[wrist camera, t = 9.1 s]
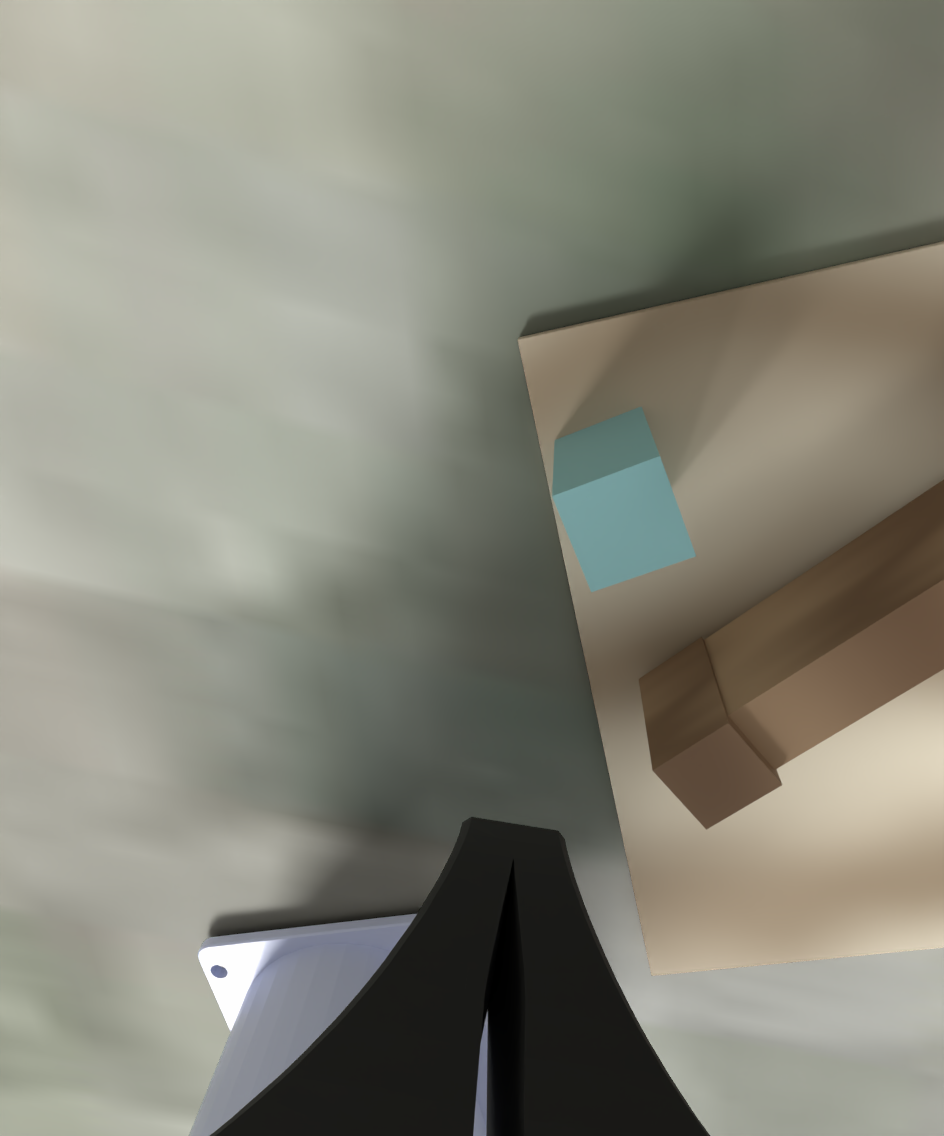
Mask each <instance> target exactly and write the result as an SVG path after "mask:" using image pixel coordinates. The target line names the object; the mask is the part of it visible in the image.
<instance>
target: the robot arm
mask: <svg viewBox="0 0 944 1136" xmlns="http://www.w3.org/2000/svg"><path fill="white" fill-rule="evenodd" d="M198 958H199V961H200V963H201V966H202V968H203V970H204V973H205V975H206V977H207V979H208V982H209V984H210V986H211V988H212V991H213V993H214V995H215V997H216V1000H217V1002H218V1004H219V1006H220V1009H221V1011H222V1013H223V1016H224V1018H225V1020H226V1022H227V1025H228V1027H229V1029H230V1031H231V1032H230V1035H229V1037H228V1040H227V1042H226V1045H225V1047H224V1050H223V1052H222V1055H221V1057H220V1059H219V1062H218V1064H217V1067H216V1069H215V1072H214V1074H213V1077H212V1079H211V1082H210V1084H209V1087H208V1089H207V1092H206V1094H205V1097H204V1099H203V1102H202V1104H201V1107H200V1109H199V1111H198V1114H197V1116H196V1119H195V1121H194V1124H193V1126H192V1129H191V1131H190V1134H189V1136H710V1135H709V1133H708V1132H707V1131H706V1129H705V1128H704V1127H703V1125H702V1124H701V1123H700V1121H699V1120H698V1118H697V1117H696V1116H695V1114H694V1113H693V1111H692V1110H691V1108H690V1107H689V1105H688V1103H687V1102H686V1100H685V1099H684V1097H683V1096H682V1094H681V1093H680V1091H679V1090H678V1088H677V1087H676V1085H675V1083H674V1082H673V1080H672V1079H671V1077H670V1076H669V1074H668V1072H667V1071H666V1069H665V1067H664V1066H663V1064H662V1062H661V1061H660V1059H659V1057H658V1056H657V1054H656V1052H655V1051H654V1049H653V1047H652V1046H651V1044H650V1042H649V1041H648V1039H647V1037H646V1035H645V1033H644V1032H643V1030H642V1028H641V1026H640V1024H639V1023H638V1021H637V1019H636V1017H635V1015H634V1013H633V1011H632V1009H631V1007H630V1006H629V1004H628V1002H627V1000H626V998H625V996H624V994H623V992H622V990H621V988H620V986H619V984H618V982H617V980H616V978H615V975H614V973H613V971H612V969H611V967H610V965H609V963H608V960H607V958H606V956H605V954H604V951H603V949H602V947H601V944H600V942H599V940H598V937H597V935H596V933H595V930H594V928H593V925H592V923H591V921H590V918H589V916H588V913H587V910H586V908H585V905H584V903H583V900H582V897H581V894H580V891H579V888H578V886H577V883H576V880H575V877H574V873H573V870H572V867H571V863H570V860H569V856H568V852H567V848H566V844H565V839H564V838H563V836H562V835H561V834H560V833H559V831H556V830H550V829H543V828H537V827H531V826H525V825H518V824H512V823H506V822H499V821H493V820H487V819H481V818H474V817H471V818H469V819H468V820H466V821H464V822H463V823H462V827H461V830H460V834H459V836H458V839H457V842H456V844H455V847H454V849H453V851H452V853H451V855H450V857H449V859H448V862H447V863H446V865H445V867H444V869H443V871H442V873H441V875H440V877H439V879H438V880H437V882H436V884H435V885H434V887H433V889H432V890H431V892H430V894H429V895H428V897H427V899H426V900H425V902H424V903H423V905H422V907H421V908H420V910H419V912H418V913H417V914H409V915H401V916H392V917H383V918H374V919H365V920H357V921H348V922H339V923H330V924H322V925H313V926H304V927H295V928H287V929H278V930H269V931H260V932H252V933H243V934H234V935H225V936H217V937H211V938H207V939H206V940H205V941H204V942H203V943H202V945H201V947H200V949H199V952H198ZM218 965H221V966H223V967H225V968H223V967H220V966H218ZM487 1009H488V1012H487Z"/></svg>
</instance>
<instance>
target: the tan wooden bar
mask: <svg viewBox="0 0 944 1136" xmlns="http://www.w3.org/2000/svg"><path fill="white" fill-rule="evenodd" d="M943 669H944V480H942V481H941V482H939V483H938V484H936V485H935V486H933V487H932V488H930V489H929V490H927V491H926V492H924V493H923V494H921V495H920V496H918V497H917V498H915V499H914V500H912V501H911V502H909V503H908V504H906V505H905V506H903V507H902V508H900V509H899V510H897V511H896V512H894V513H893V514H891V515H890V516H888V517H887V518H885V519H884V520H882V521H881V522H879V523H878V524H876V525H875V526H874V527H872V528H871V529H869V530H868V531H866V532H865V533H863V534H862V535H860V536H859V537H857V538H856V539H854V540H853V541H851V542H850V543H848V544H847V545H845V546H844V547H842V548H841V549H839V550H838V551H836V552H835V553H833V554H832V555H830V556H829V557H827V558H826V559H824V560H823V561H821V562H820V563H818V564H817V565H815V566H814V567H812V568H811V569H809V570H808V571H806V572H805V573H803V574H802V575H800V576H799V577H797V578H796V579H794V580H793V581H791V582H790V583H788V584H787V585H785V586H784V587H782V588H781V589H779V590H778V591H776V592H775V593H773V594H772V595H770V596H769V597H767V598H766V599H764V600H763V601H761V602H760V603H759V604H757V605H756V606H754V607H753V608H751V609H750V610H748V611H747V612H745V613H744V614H742V615H741V616H739V617H738V618H736V619H735V620H733V621H732V622H730V623H729V624H727V625H726V626H724V627H723V628H721V629H720V630H718V631H717V632H715V633H714V634H712V635H711V636H709V637H708V638H706V639H705V640H704V639H703V638H702V637H701V638H699V639H698V640H696V641H695V642H693V643H692V644H690V645H689V646H687V647H686V648H684V649H683V650H681V651H680V652H678V653H677V654H675V655H674V656H672V657H671V658H669V659H668V660H666V661H665V662H663V663H662V664H660V665H659V666H657V667H656V668H654V669H653V670H651V671H650V672H648V673H647V674H646V675H644V676H643V677H641V678H640V679H639V686H640V692H641V699H642V705H643V712H644V719H645V725H646V732H647V738H648V745H649V751H650V758H651V764H652V771H653V772H654V773H655V774H656V775H657V776H658V777H659V778H660V779H661V780H662V782H663V783H664V784H665V785H666V786H667V787H668V788H669V789H670V790H671V791H672V793H673V794H674V795H675V796H676V797H677V798H678V799H679V800H680V801H681V802H682V804H683V805H684V806H685V807H686V808H687V809H688V810H689V811H690V812H691V813H692V815H693V816H694V817H695V818H696V819H697V820H698V821H699V822H700V823H701V824H702V825H703V827H704V828H705V829H706V830H707V829H709V828H710V827H712V826H714V825H715V824H717V823H719V822H720V821H722V820H724V819H726V818H727V817H729V816H731V815H732V814H734V813H736V812H737V811H739V810H741V809H743V808H744V807H746V806H748V805H749V804H751V803H753V802H754V801H756V800H758V799H760V798H761V797H763V796H765V795H766V794H768V793H770V792H771V791H773V790H775V789H777V788H778V787H780V786H782V783H781V780H780V777H779V775H778V772H777V768H779V767H781V766H782V765H784V764H786V763H787V762H789V761H791V760H792V759H794V758H796V757H797V756H799V755H801V754H802V753H804V752H806V751H807V750H809V749H811V748H812V747H814V746H816V745H818V744H819V743H821V742H823V741H824V740H826V739H828V738H829V737H831V736H833V735H834V734H836V733H838V732H839V731H841V730H843V729H844V728H846V727H848V726H849V725H851V724H853V723H854V722H856V721H858V720H859V719H861V718H863V717H864V716H866V715H868V714H870V713H871V712H873V711H875V710H876V709H878V708H880V707H881V706H883V705H885V704H886V703H888V702H890V701H891V700H893V699H895V698H896V697H898V696H900V695H901V694H903V693H905V692H906V691H908V690H910V689H911V688H913V687H915V686H916V685H918V684H920V683H922V682H923V681H925V680H927V679H928V678H930V677H932V676H933V675H935V674H937V673H938V672H940V671H942V670H943Z"/></svg>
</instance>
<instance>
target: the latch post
mask: <svg viewBox="0 0 944 1136" xmlns="http://www.w3.org/2000/svg"><path fill="white" fill-rule="evenodd" d="M552 498H553V500H554V502H555V505H556V507H557V510H558V512H559V515H560V517H561V520H562V522H563V524H564V527H565V529H566V532H567V534H568V537H569V539H570V541H571V544H572V546H573V549H574V551H575V554H576V556H577V559H578V561H579V563H580V566H581V568H582V571H583V573H584V576H585V578H586V581H587V583H588V585H589V588H590V590H591V592H594V591H597V590H600V589H603V588H605V587H608V586H611V585H614V584H617V583H620V582H623V581H626V580H629V579H632V578H635V577H637V576H640V575H643V574H646V573H649V572H652V571H655V570H658V569H661V568H664V567H666V566H669V565H672V564H675V563H678V562H681V561H684V560H687V559H690V558H693V557H696V554H695V551H694V549H693V546H692V543H691V540H690V538H689V535H688V532H687V529H686V527H685V524H684V521H683V518H682V515H681V513H680V510H679V507H678V504H677V502H676V499H675V496H674V493H673V491H672V488H671V485H670V482H669V480H668V477H667V474H666V471H665V468H664V466H663V463H662V460H661V457H660V455H659V452H658V449H657V447H656V444H655V441H654V439H653V436H652V433H651V431H650V428H649V425H648V423H647V420H646V417H645V415H644V412H643V409H642V406H641V407H638V408H636V409H633V410H631V411H628V412H625V413H623V414H620V415H618V416H615V417H613V418H610V419H608V420H605V421H602V422H600V423H597V424H595V425H592V426H590V427H587V428H584V429H582V430H579V431H577V432H574V433H572V434H569V435H566V436H564V437H561V438H559V439H556V440H555V442H554V464H553V486H552Z"/></svg>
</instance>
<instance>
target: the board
mask: <svg viewBox="0 0 944 1136" xmlns="http://www.w3.org/2000/svg"><path fill="white" fill-rule="evenodd" d="M518 344H519V349H520V354H521V358H522V363H523V368H524V373H525V377H526V382H527V387H528V392H529V396H530V401H531V406H532V411H533V415H534V420H535V425H536V430H537V434H538V439H539V444H540V448H541V453H542V458H543V463H544V467H545V472H546V477H547V482H548V486H549V491H550V496H551V501H552V505H553V510H554V515H555V520H556V524H557V529H558V534H559V539H560V543H561V548H562V553H563V558H564V562H565V567H566V572H567V577H568V581H569V586H570V591H571V596H572V600H573V605H574V610H575V615H576V619H577V624H578V629H579V634H580V638H581V643H582V648H583V653H584V657H585V662H586V667H587V672H588V676H589V681H590V686H591V691H592V695H593V700H594V705H595V710H596V714H597V719H598V724H599V729H600V733H601V738H602V743H603V748H604V752H605V757H606V762H607V767H608V771H609V776H610V781H611V786H612V790H613V795H614V800H615V804H616V809H617V814H618V819H619V823H620V828H621V833H622V838H623V842H624V847H625V852H626V857H627V861H628V866H629V871H630V876H631V880H632V885H633V890H634V895H635V899H636V904H637V909H638V914H639V918H640V923H641V928H642V933H643V937H644V942H645V947H646V952H647V956H648V961H649V966H650V971H651V975H652V976H656V975H666V974H676V973H687V972H697V971H707V970H718V969H728V968H738V967H749V966H759V965H769V964H780V963H790V962H800V961H810V960H821V959H831V958H841V957H852V956H862V955H872V954H883V953H893V952H903V951H914V950H924V949H934V948H944V669H943V670H942V671H940V672H938V673H937V674H935V675H933V676H932V677H930V678H928V679H927V680H925V681H923V682H922V683H920V684H918V685H916V686H915V687H913V688H911V689H910V690H908V691H906V692H905V693H903V694H901V695H900V696H898V697H896V698H895V699H893V700H891V701H890V702H888V703H886V704H885V705H883V706H881V707H880V708H878V709H876V710H875V711H873V712H871V713H870V714H868V715H866V716H864V717H863V718H861V719H859V720H858V721H856V722H854V723H853V724H851V725H849V726H848V727H846V728H844V729H843V730H841V731H839V732H838V733H836V734H834V735H833V736H831V737H829V738H828V739H826V740H824V741H823V742H821V743H819V744H818V745H816V746H814V747H812V748H811V749H809V750H807V751H806V752H804V753H802V754H801V755H799V756H797V757H796V758H794V759H792V760H791V761H789V762H787V763H786V764H784V765H782V766H781V767H779V768H777V772H778V775H779V777H780V780H781V783H782V786H780V787H778V788H777V789H775V790H773V791H771V792H770V793H768V794H766V795H765V796H763V797H761V798H760V799H758V800H756V801H754V802H753V803H751V804H749V805H748V806H746V807H744V808H743V809H741V810H739V811H737V812H736V813H734V814H732V815H731V816H729V817H727V818H726V819H724V820H722V821H720V822H719V823H717V824H715V825H714V826H712V827H710V828H709V829H707V830H706V829H705V828H704V827H703V825H702V824H701V823H700V822H699V821H698V820H697V819H696V818H695V817H694V816H693V815H692V813H691V812H690V811H689V810H688V809H687V808H686V807H685V806H684V805H683V804H682V802H681V801H680V800H679V799H678V798H677V797H676V796H675V795H674V794H673V793H672V791H671V790H670V789H669V788H668V787H667V786H666V785H665V784H664V783H663V782H662V780H661V779H660V778H659V777H658V776H657V775H656V774H655V773H654V772H653V771H652V764H651V758H650V751H649V745H648V738H647V732H646V725H645V719H644V712H643V705H642V699H641V692H640V686H639V679H640V678H641V677H643V676H644V675H646V674H647V673H648V672H650V671H651V670H653V669H654V668H656V667H657V666H659V665H660V664H662V663H663V662H665V661H666V660H668V659H669V658H671V657H672V656H674V655H675V654H677V653H678V652H680V651H681V650H683V649H684V648H686V647H687V646H689V645H690V644H692V643H693V642H695V641H696V640H698V639H699V638H701V637H702V638H703V639H704V640H705V639H706V638H708V637H709V636H711V635H712V634H714V633H715V632H717V631H718V630H720V629H721V628H723V627H724V626H726V625H727V624H729V623H730V622H732V621H733V620H735V619H736V618H738V617H739V616H741V615H742V614H744V613H745V612H747V611H748V610H750V609H751V608H753V607H754V606H756V605H757V604H759V603H760V602H761V601H763V600H764V599H766V598H767V597H769V596H770V595H772V594H773V593H775V592H776V591H778V590H779V589H781V588H782V587H784V586H785V585H787V584H788V583H790V582H791V581H793V580H794V579H796V578H797V577H799V576H800V575H802V574H803V573H805V572H806V571H808V570H809V569H811V568H812V567H814V566H815V565H817V564H818V563H820V562H821V561H823V560H824V559H826V558H827V557H829V556H830V555H832V554H833V553H835V552H836V551H838V550H839V549H841V548H842V547H844V546H845V545H847V544H848V543H850V542H851V541H853V540H854V539H856V538H857V537H859V536H860V535H862V534H863V533H865V532H866V531H868V530H869V529H871V528H872V527H874V526H875V525H876V524H878V523H879V522H881V521H882V520H884V519H885V518H887V517H888V516H890V515H891V514H893V513H894V512H896V511H897V510H899V509H900V508H902V507H903V506H905V505H906V504H908V503H909V502H911V501H912V500H914V499H915V498H917V497H918V496H920V495H921V494H923V493H924V492H926V491H927V490H929V489H930V488H932V487H933V486H935V485H936V484H938V483H939V482H941V481H942V480H944V241H942V242H938V243H934V244H929V245H925V246H920V247H916V248H911V249H907V250H903V251H898V252H894V253H889V254H885V255H881V256H876V257H872V258H867V259H863V260H858V261H854V262H850V263H845V264H841V265H836V266H832V267H828V268H823V269H819V270H814V271H810V272H805V273H801V274H797V275H792V276H788V277H783V278H779V279H775V280H770V281H766V282H761V283H757V284H752V285H748V286H744V287H739V288H735V289H730V290H726V291H722V292H717V293H713V294H708V295H704V296H699V297H695V298H691V299H686V300H682V301H677V302H673V303H669V304H664V305H660V306H655V307H651V308H646V309H642V310H638V311H633V312H629V313H624V314H620V315H616V316H611V317H607V318H602V319H598V320H593V321H589V322H585V323H580V324H576V325H571V326H567V327H562V328H558V329H554V330H549V331H545V332H540V333H536V334H532V335H527V336H523V337H519V338H518ZM641 406H642V409H643V412H644V415H645V417H646V420H647V423H648V425H649V428H650V431H651V433H652V436H653V439H654V441H655V444H656V447H657V449H658V452H659V455H660V457H661V460H662V463H663V466H664V468H665V471H666V474H667V477H668V480H669V482H670V485H671V488H672V491H673V493H674V496H675V499H676V502H677V504H678V507H679V510H680V513H681V515H682V518H683V521H684V524H685V527H686V529H687V532H688V535H689V538H690V540H691V543H692V546H693V549H694V551H695V554H696V557H693V558H690V559H687V560H684V561H681V562H678V563H675V564H672V565H669V566H666V567H664V568H661V569H658V570H655V571H652V572H649V573H646V574H643V575H640V576H637V577H635V578H632V579H629V580H626V581H623V582H620V583H617V584H614V585H611V586H608V587H605V588H603V589H600V590H597V591H594V592H591V590H590V588H589V585H588V583H587V581H586V578H585V576H584V573H583V571H582V568H581V566H580V563H579V561H578V559H577V556H576V554H575V551H574V549H573V546H572V544H571V541H570V539H569V537H568V534H567V532H566V529H565V527H564V524H563V522H562V520H561V517H560V515H559V512H558V510H557V507H556V505H555V502H554V500H553V498H552V486H553V464H554V442H555V440H556V439H559V438H561V437H564V436H566V435H569V434H572V433H574V432H577V431H579V430H582V429H584V428H587V427H590V426H592V425H595V424H597V423H600V422H602V421H605V420H608V419H610V418H613V417H615V416H618V415H620V414H623V413H625V412H628V411H631V410H633V409H636V408H638V407H641Z"/></svg>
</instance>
